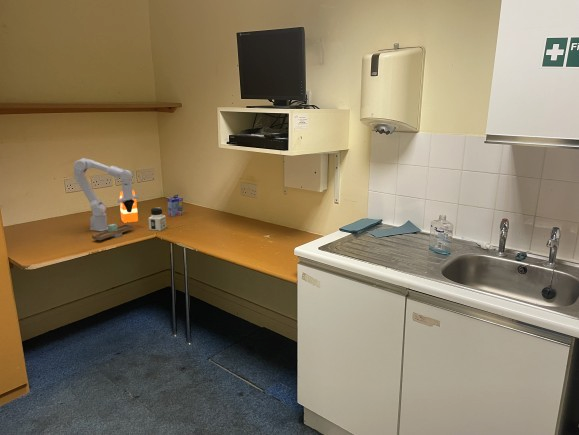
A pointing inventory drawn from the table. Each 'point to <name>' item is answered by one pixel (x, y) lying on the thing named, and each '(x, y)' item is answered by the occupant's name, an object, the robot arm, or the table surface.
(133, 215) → the orange juice
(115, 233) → the beam
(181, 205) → the ink cartridge box
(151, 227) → the container
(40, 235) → the table surface
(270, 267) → the table surface
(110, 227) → the block
